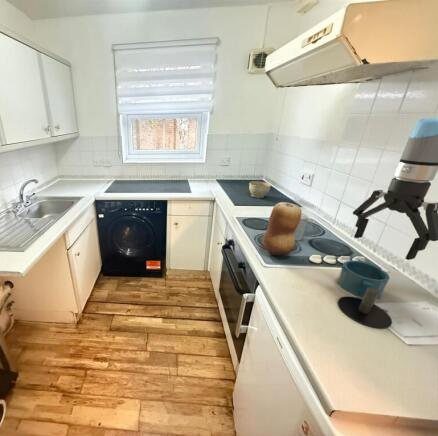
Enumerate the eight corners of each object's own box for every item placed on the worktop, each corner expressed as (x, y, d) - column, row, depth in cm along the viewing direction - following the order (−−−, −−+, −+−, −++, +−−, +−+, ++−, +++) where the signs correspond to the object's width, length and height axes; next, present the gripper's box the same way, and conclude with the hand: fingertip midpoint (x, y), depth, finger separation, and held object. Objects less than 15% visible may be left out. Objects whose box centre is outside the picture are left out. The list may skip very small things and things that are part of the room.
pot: (375, 282, 94) (384, 264, 90) (384, 310, 80) (394, 290, 77) (336, 271, 100) (342, 254, 97) (338, 295, 86) (345, 276, 83)
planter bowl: (270, 200, 187) (273, 186, 183) (248, 198, 190) (251, 185, 186) (266, 194, 201) (268, 181, 197) (246, 193, 205) (248, 180, 200)
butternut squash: (294, 262, 106) (309, 210, 96) (262, 258, 110) (273, 207, 100) (286, 247, 119) (299, 200, 109) (258, 244, 122) (267, 198, 112)
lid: (386, 309, 80) (397, 286, 76) (395, 337, 70) (409, 312, 66) (336, 294, 87) (344, 272, 84) (337, 317, 77) (347, 293, 73)
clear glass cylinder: (292, 241, 125) (298, 219, 120) (278, 233, 133) (283, 213, 129) (306, 238, 127) (313, 217, 123) (292, 231, 136) (297, 211, 131)
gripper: (353, 171, 75) (332, 231, 83) (472, 193, 53) (428, 272, 61) (370, 169, 77) (348, 228, 85) (491, 190, 55) (446, 267, 63)
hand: (381, 247), depth 73 cm, fingers open, 13 cm apart
